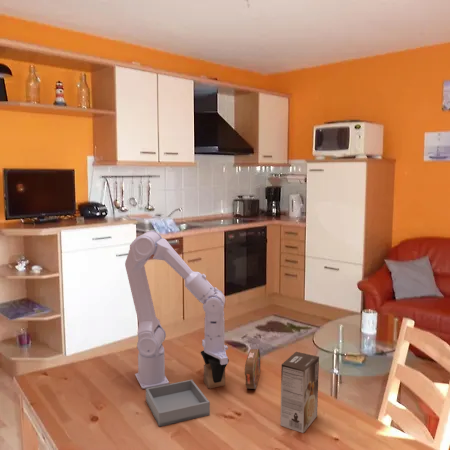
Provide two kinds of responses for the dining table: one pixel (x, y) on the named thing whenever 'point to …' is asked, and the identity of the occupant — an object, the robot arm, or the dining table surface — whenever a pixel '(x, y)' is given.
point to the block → (211, 378)
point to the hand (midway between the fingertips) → (214, 378)
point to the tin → (252, 369)
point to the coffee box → (299, 391)
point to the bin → (177, 402)
